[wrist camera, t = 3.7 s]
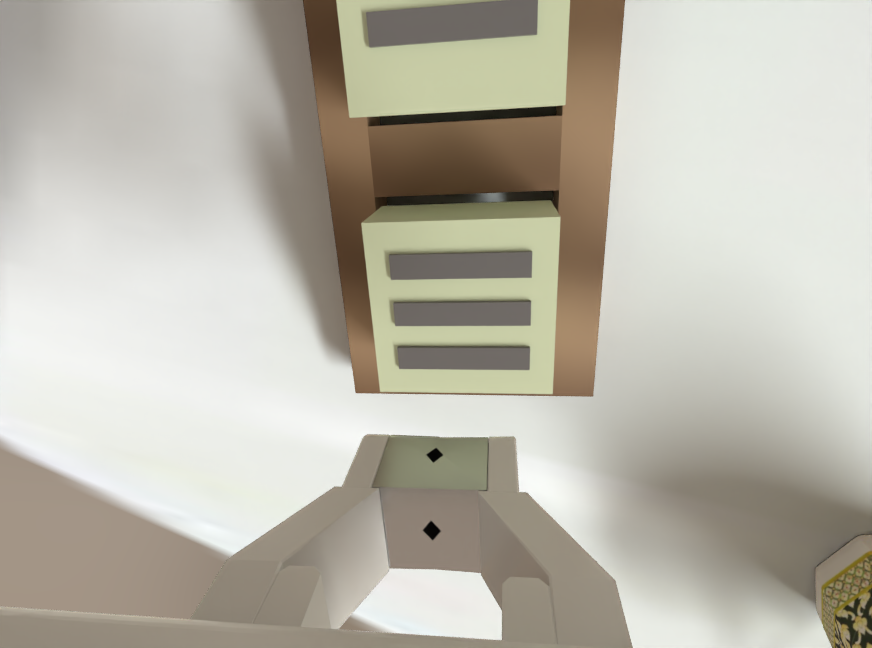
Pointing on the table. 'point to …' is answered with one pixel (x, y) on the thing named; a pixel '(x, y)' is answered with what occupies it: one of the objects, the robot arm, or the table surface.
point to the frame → (481, 178)
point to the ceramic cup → (847, 594)
